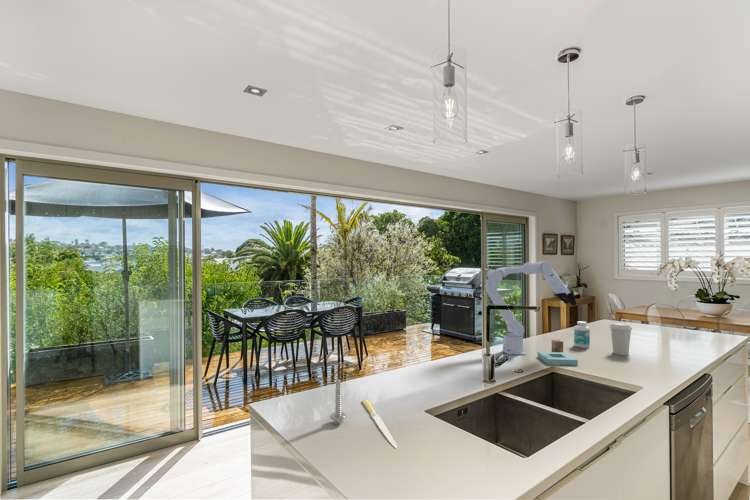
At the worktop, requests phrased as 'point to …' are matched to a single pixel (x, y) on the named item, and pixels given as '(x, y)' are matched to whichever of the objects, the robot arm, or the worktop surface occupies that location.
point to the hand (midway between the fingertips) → (571, 303)
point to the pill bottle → (582, 335)
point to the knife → (379, 422)
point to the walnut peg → (557, 346)
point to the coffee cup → (621, 338)
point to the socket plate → (557, 358)
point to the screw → (338, 406)
